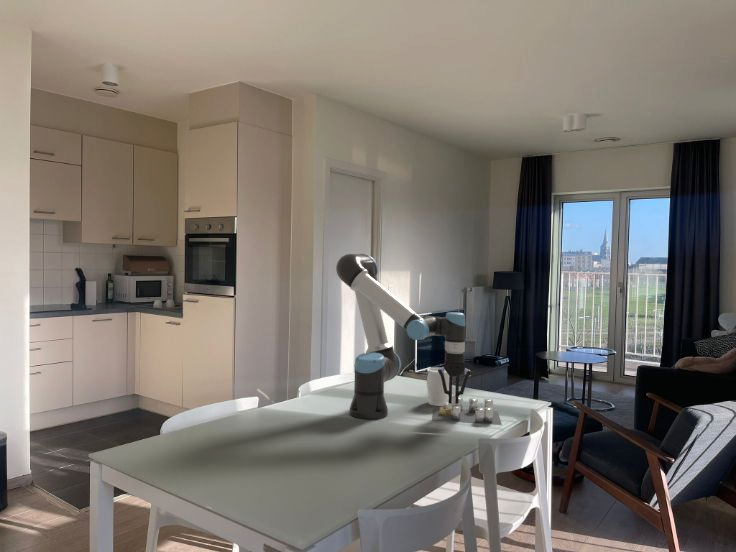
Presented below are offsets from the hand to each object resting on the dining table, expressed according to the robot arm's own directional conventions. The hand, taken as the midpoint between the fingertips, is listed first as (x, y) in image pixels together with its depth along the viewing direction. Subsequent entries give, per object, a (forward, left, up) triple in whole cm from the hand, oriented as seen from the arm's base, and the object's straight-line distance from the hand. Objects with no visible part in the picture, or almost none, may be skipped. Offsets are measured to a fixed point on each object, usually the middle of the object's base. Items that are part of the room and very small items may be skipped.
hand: (453, 411), depth 224 cm
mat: (+5, 0, -2) cm, 5 cm away
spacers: (+7, 0, -1) cm, 8 cm away
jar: (-6, +17, -2) cm, 18 cm away
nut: (-3, 0, -1) cm, 3 cm away
